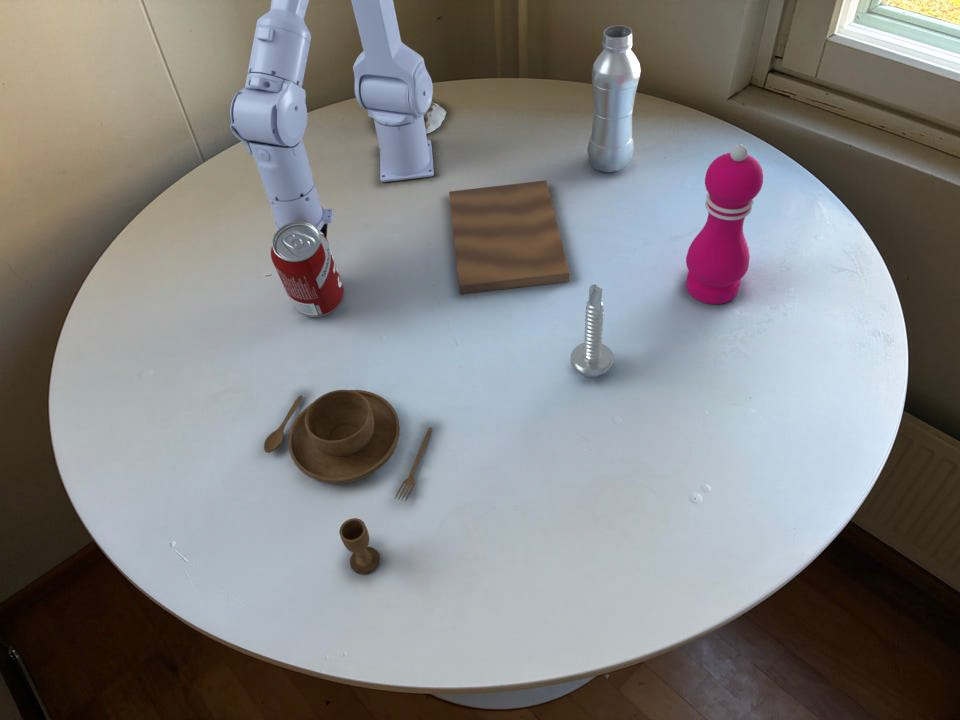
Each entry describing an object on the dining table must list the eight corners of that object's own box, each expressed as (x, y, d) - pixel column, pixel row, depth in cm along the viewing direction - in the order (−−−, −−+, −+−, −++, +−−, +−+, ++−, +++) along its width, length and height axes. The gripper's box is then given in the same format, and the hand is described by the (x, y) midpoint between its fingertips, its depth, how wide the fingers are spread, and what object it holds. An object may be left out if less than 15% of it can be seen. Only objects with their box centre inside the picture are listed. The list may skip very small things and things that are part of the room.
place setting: (442, 413, 84) (436, 379, 80) (378, 578, 72) (367, 548, 67) (298, 388, 88) (285, 353, 84) (214, 540, 76) (193, 509, 72)
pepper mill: (743, 310, 91) (778, 167, 76) (680, 305, 93) (704, 163, 78) (741, 270, 96) (775, 128, 81) (682, 265, 97) (705, 125, 82)
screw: (570, 353, 89) (613, 354, 88) (569, 385, 86) (613, 387, 85) (572, 269, 79) (619, 270, 79) (571, 301, 76) (620, 302, 75)
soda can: (320, 329, 95) (298, 275, 85) (280, 302, 97) (253, 246, 87) (355, 291, 98) (338, 234, 87) (316, 266, 100) (294, 207, 89)
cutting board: (450, 200, 110) (448, 191, 109) (546, 188, 110) (546, 180, 109) (459, 294, 97) (458, 285, 96) (569, 281, 97) (569, 272, 96)
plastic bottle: (578, 161, 114) (582, 29, 99) (617, 147, 116) (626, 15, 101) (601, 183, 110) (608, 48, 95) (641, 168, 112) (654, 34, 97)
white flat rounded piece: (450, 133, 122) (448, 111, 119) (376, 143, 122) (371, 122, 119) (443, 97, 130) (440, 75, 127) (373, 107, 129) (369, 85, 126)
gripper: (320, 221, 84) (346, 309, 94) (327, 148, 94) (349, 235, 104) (257, 228, 84) (289, 315, 94) (270, 154, 94) (297, 241, 104)
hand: (317, 274), depth 99 cm, fingers closed, pressing on soda can
